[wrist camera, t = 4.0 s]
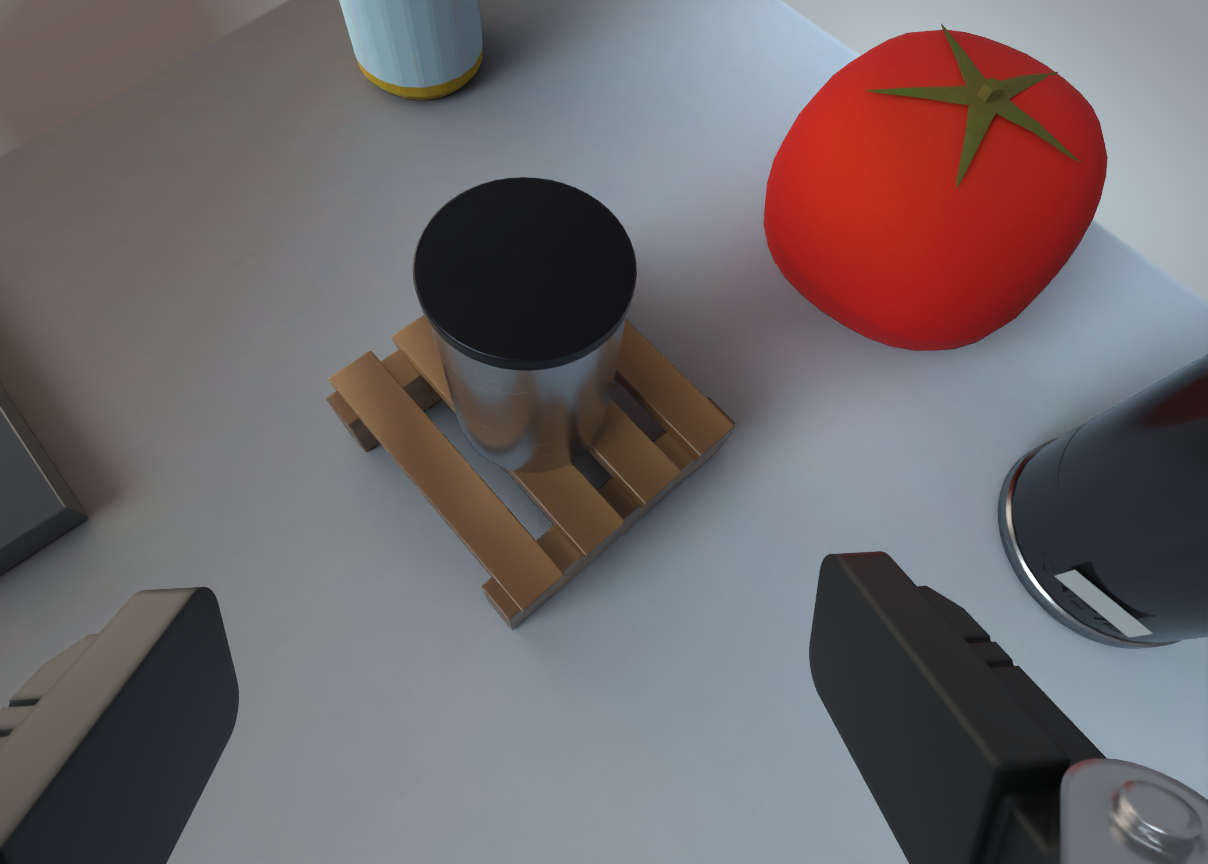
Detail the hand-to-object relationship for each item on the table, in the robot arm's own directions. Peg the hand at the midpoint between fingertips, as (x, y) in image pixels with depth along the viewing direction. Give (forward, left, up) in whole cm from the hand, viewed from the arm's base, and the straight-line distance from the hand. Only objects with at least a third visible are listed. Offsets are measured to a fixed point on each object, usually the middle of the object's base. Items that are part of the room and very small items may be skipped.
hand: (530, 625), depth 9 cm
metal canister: (-7, -8, -15) cm, 19 cm away
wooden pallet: (-7, -8, -19) cm, 22 cm away
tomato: (-26, -4, -19) cm, 32 cm away
